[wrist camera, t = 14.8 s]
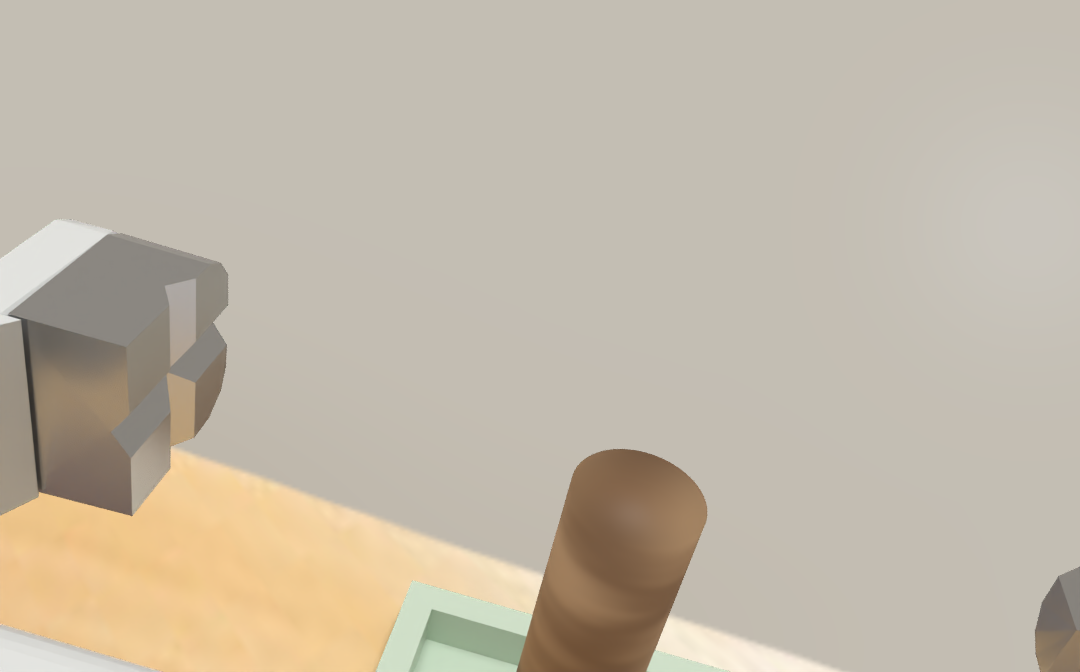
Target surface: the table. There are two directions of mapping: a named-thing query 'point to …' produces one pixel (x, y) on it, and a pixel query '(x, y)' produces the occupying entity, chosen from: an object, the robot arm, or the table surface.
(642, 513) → the dowel
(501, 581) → the table surface
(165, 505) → the table surface
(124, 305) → the robot arm
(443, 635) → the tray
